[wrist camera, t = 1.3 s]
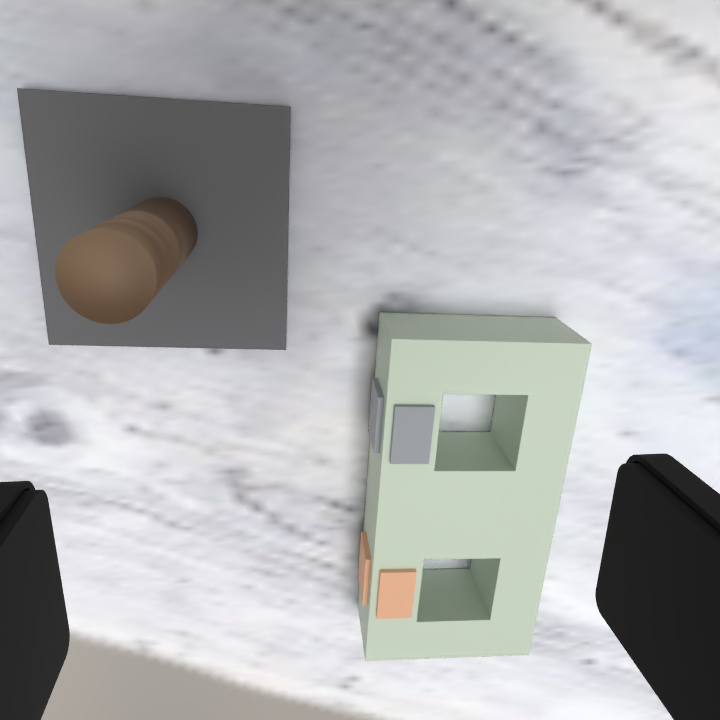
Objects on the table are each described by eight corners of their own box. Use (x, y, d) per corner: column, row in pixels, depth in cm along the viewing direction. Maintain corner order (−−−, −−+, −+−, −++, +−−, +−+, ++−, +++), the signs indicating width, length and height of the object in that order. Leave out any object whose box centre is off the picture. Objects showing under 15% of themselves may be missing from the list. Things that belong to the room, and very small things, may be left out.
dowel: (127, 195, 29) (49, 228, 20) (196, 199, 30) (151, 232, 20) (132, 262, 30) (60, 322, 21) (198, 265, 31) (157, 325, 21)
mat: (24, 89, 28) (17, 88, 27) (290, 107, 29) (290, 106, 29) (54, 339, 32) (49, 344, 31) (285, 344, 33) (286, 349, 33)
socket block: (374, 312, 33) (386, 341, 29) (555, 317, 34) (594, 346, 30) (353, 605, 40) (360, 665, 36) (504, 601, 42) (530, 658, 37)
